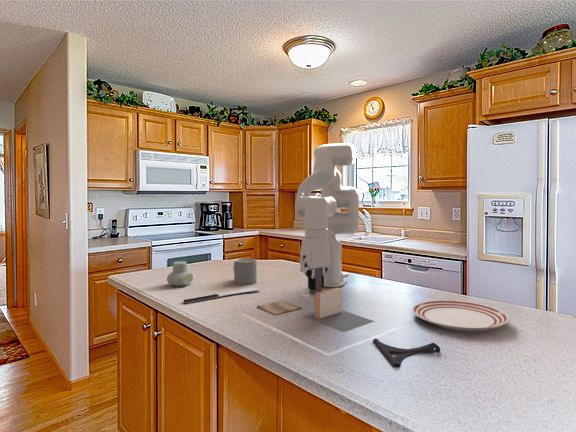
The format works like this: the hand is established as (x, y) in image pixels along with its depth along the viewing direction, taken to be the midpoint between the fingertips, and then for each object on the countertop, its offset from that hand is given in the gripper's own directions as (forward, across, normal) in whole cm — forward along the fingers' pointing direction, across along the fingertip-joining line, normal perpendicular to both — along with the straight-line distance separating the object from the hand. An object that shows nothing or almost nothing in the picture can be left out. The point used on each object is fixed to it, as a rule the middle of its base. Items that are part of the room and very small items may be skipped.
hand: (315, 288), depth 124 cm
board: (+8, +8, -10) cm, 15 cm away
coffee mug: (+9, -4, -52) cm, 53 cm away
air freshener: (+9, +21, -64) cm, 68 cm away
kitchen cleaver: (+9, +15, -38) cm, 42 cm away
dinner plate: (+9, -29, +34) cm, 46 cm away
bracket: (+9, +3, +38) cm, 39 cm away
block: (+8, 0, +6) cm, 10 cm away
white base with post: (+3, 0, +2) cm, 3 cm away
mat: (+8, 0, +11) cm, 14 cm away
